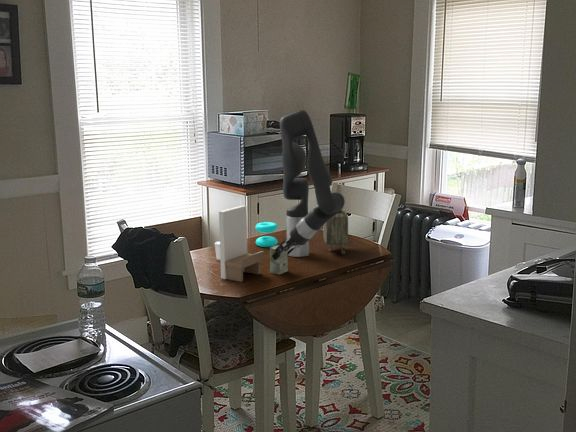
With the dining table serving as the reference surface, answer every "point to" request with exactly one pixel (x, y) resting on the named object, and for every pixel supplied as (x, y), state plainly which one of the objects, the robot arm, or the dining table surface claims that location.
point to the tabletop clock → (336, 230)
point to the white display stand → (236, 245)
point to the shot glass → (217, 249)
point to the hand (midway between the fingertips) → (279, 255)
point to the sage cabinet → (278, 262)
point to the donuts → (266, 240)
